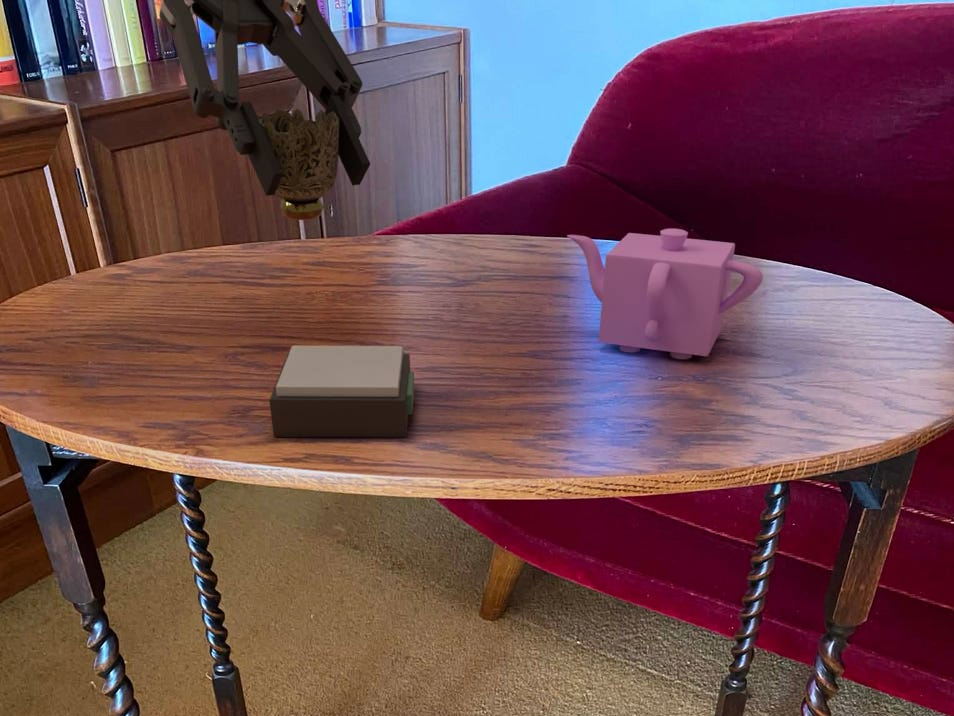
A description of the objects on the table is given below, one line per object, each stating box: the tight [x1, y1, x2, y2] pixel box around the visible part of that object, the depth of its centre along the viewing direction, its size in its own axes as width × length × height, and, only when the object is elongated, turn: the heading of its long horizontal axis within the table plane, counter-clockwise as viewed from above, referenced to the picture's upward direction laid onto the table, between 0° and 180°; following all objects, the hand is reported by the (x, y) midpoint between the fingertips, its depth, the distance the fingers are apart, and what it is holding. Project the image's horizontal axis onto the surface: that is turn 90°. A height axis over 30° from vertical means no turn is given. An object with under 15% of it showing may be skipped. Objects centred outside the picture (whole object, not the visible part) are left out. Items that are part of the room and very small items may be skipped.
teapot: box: [566, 228, 764, 360], centre depth 88 cm, size 18×14×10 cm
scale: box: [268, 345, 415, 438], centre depth 76 cm, size 10×10×4 cm
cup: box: [256, 108, 340, 221], centre depth 82 cm, size 8×7×8 cm
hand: (318, 179), depth 80 cm, fingers closed on cup, 7 cm apart
